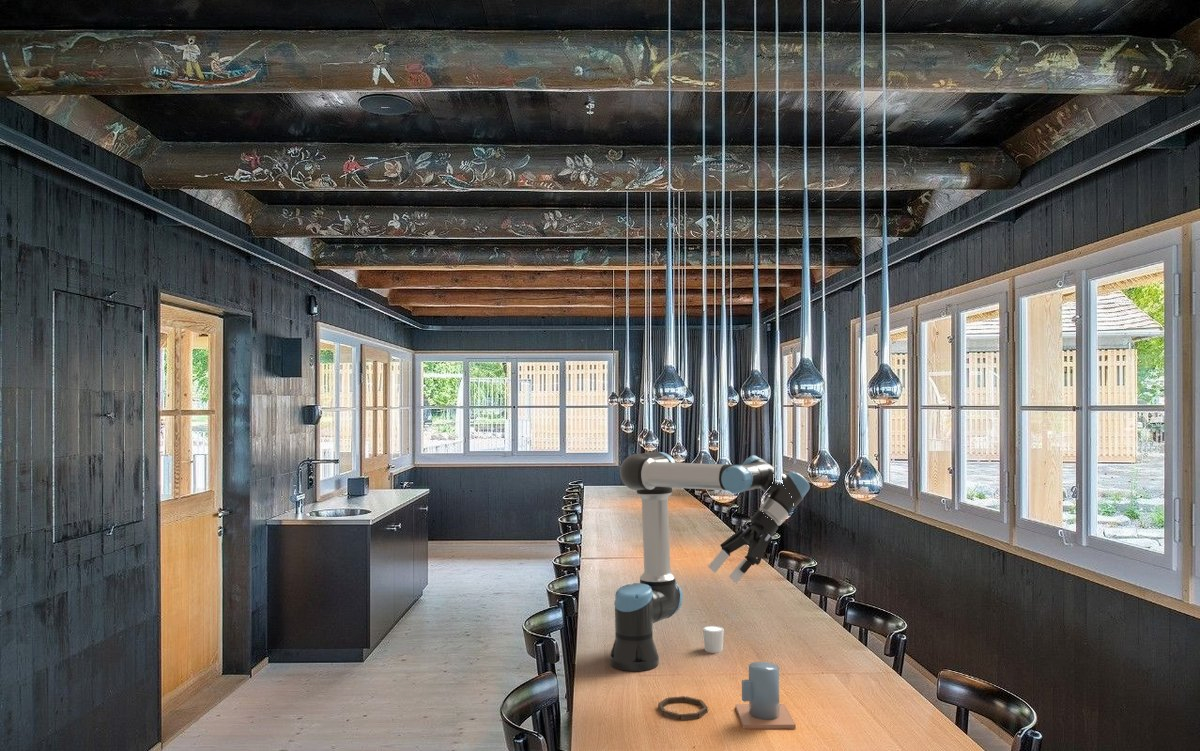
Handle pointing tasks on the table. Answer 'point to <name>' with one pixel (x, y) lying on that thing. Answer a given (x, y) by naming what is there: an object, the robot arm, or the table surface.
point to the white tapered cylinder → (713, 638)
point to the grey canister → (762, 690)
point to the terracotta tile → (753, 723)
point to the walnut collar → (682, 716)
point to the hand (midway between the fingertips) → (721, 574)
